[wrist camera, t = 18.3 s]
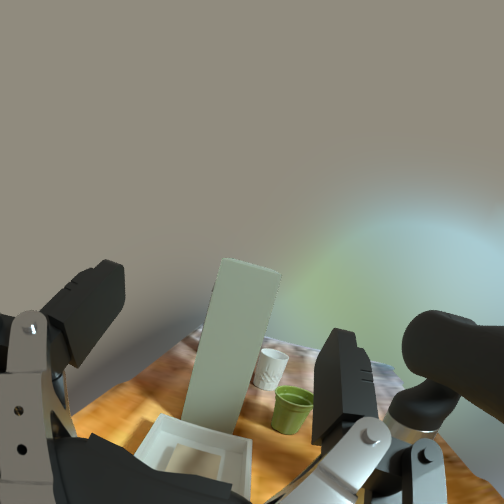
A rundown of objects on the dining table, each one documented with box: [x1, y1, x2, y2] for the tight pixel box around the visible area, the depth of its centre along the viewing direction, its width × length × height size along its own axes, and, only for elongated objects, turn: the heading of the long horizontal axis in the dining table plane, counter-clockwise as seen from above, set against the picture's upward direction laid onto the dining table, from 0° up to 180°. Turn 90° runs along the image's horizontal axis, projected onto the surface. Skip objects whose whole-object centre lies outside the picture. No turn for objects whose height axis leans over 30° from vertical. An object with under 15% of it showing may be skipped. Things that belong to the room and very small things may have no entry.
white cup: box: [253, 348, 289, 391], centre depth 75 cm, size 8×8×10 cm
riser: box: [181, 258, 282, 435], centre depth 57 cm, size 10×20×32 cm, turn 179°
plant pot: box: [271, 386, 314, 435], centre depth 54 cm, size 9×9×9 cm
